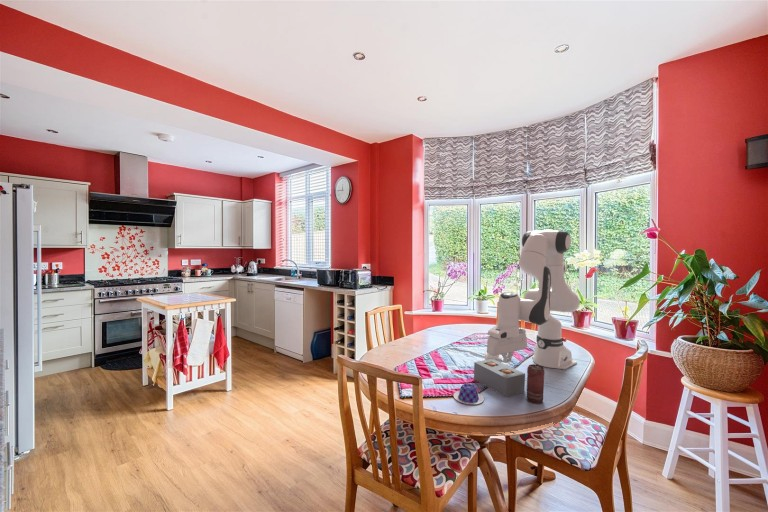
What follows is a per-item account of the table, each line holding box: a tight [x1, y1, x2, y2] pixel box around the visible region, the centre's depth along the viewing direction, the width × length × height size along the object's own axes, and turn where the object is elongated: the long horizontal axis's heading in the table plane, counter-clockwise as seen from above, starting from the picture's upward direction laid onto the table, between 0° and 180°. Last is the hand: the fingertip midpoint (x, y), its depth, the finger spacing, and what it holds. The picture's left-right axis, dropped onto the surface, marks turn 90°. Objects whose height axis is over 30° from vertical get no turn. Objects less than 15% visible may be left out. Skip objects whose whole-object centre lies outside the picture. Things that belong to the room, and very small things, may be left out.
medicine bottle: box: [484, 351, 503, 363], centre depth 165 cm, size 7×7×12 cm
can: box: [526, 363, 545, 405], centre depth 133 cm, size 6×6×14 cm
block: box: [473, 359, 526, 398], centre depth 147 cm, size 11×19×8 cm, turn 26°
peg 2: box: [502, 369, 512, 374], centre depth 143 cm, size 4×4×8 cm
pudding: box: [453, 383, 485, 405], centre depth 135 cm, size 12×12×5 cm
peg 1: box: [487, 362, 496, 367], centre depth 151 cm, size 4×4×8 cm
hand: (507, 361), depth 143 cm, fingers closed
